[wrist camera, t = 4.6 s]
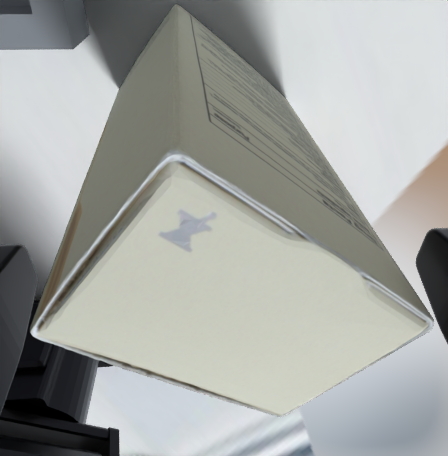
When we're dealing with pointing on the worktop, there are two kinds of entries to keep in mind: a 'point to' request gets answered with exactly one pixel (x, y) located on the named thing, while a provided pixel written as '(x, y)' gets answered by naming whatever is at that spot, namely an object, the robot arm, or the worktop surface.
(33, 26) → the tray
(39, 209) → the worktop surface
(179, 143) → the skincare box
